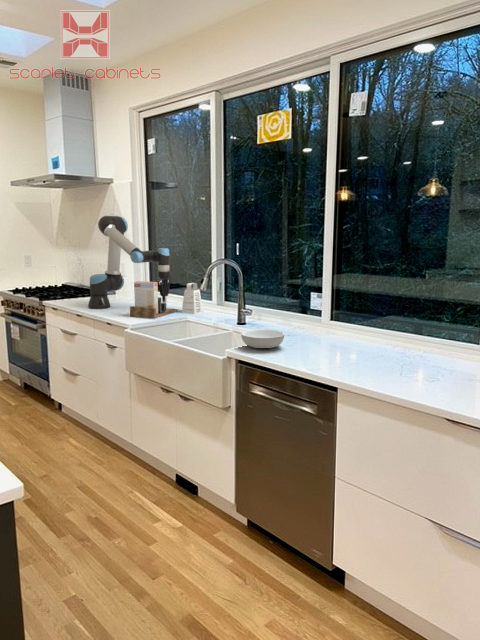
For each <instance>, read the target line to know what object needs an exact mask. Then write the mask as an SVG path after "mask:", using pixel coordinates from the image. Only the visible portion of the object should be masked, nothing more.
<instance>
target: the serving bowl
mask: <svg viewBox="0 0 480 640" xmlns="http://www.w3.org/2000/svg"><path fill="white" fill-rule="evenodd" d="M240 334H241V335H240V337H241V339H242V342H243V343H244V344H245V345H246V346H249V348H254V349H257V348H269V349H273V348H276V347H278V346H280V345H281V344H282V343H283V342H284V339H285V333H284V332H283V331H281V330H277V329H267V328H262V329H261V328H258V329H257V328H256V329H247V330H244V331H242V332H240Z"/></svg>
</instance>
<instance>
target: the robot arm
mask: <svg viewBox="0 0 480 640" xmlns="http://www.w3.org/2000/svg"><path fill="white" fill-rule="evenodd" d="M128 224H129V223H128V221H127V220H126V219H125V218H124V217H123V216H118V215H104V216H101V218H99V220H98V223H97V227H98V229H99V232H100V233H101V234H102V235H104V236H105V237H107V238H108V252H107V269H106V270H105V271H104V273H98V274H97V273H96V274H93V275H92V274H91V276H90V277H89V294H90V297H89V301H88V306H87V307H88V308H89V309H96V310H97V309H99V310H102V309H109V308H110V307H111V303H110V300H109V297H108V292H116V291H119V290H121V289H122V288H123V287H124V284H125V279H124V277H123V275H122V272H121V271H120V267H121V266H120V265H121V253H122V252H121V251H122V250H123V251H124V252H125V253H126V254H127V255H128V256H129V257H130V258H129V259H130V260H131V262H132V263H134V264H142V263H157V264H158V265H157V266H158V268H157V269H158V277H159V281H157V282H158V291H159V295H160V296H161V303H166V306H168V301H167V300H168V296H169V294H170V285H171V280H169V277H170V276H171V274H170V268H171V267H170V249H169V248H168V247H167V248H165V247H159V248H157V250H144V251H143V250H141V249H140V248H138V247H137V246H136V245H135V244H134V242H132V241H131V240H130V239H129V238H127V237H126V236H125V233H126V232H127V231H128V227H129V225H128Z"/></svg>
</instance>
